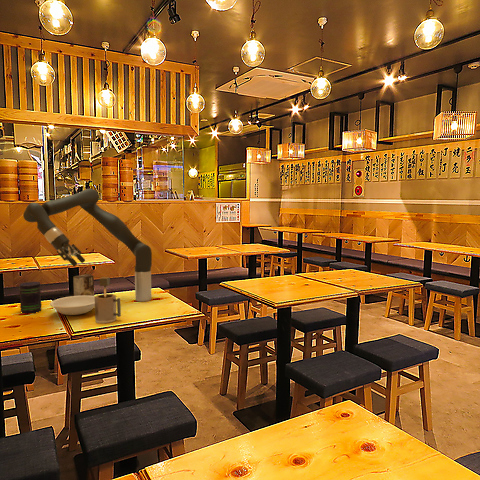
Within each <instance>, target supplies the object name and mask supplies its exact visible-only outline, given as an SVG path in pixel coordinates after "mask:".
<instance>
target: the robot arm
mask: <svg viewBox="0 0 480 480" xmlns="http://www.w3.org/2000/svg"><path fill="white" fill-rule="evenodd" d="M99 200H100V194H99V191H97V190H96V189H94V188H86V189H84V190H82V191H79V192H76V193H75V194H71V195H68V196H64V197H61V198H55V199H52V200H48V201H45V202H43V203H42V204H40V203H38V202H31V203H29V204H28V205H27V206H26V208H25V210H24V212H23V215H22V217H23V220H24V221H26V222H28V223H37V224H36V225H37V226H36V227H37V230H38V231H39V232H40V233H41V234H42V235H43V237H44V238H45V239H46V241H47V242H48V243H49V244H50V245H51V246H52V247H53V248H54V249H55V250H56V253H57V254H58V255H59V256H60V257H61V259H62V260H63V261H67V262H68V263H70V264H71V266H72V267H77V265H78V262H77V261H76V260H75V259H74V258H73V256H74V257H76V258H77V260H78V261H79V262H80V263H81V264H84V262H85V261H86V259H85V258H84V256H83V255H81V254H82V251H81V249H79V248H78V247H77V246H76V244H70V241H71V240H70V239H69V238H68V237H67V236H66V234H65V233H64V232H63V231H62V230H61V229H60V228H58V227H57V225H55V223H54V222H53V221H52V220H51V219H50V217H51V216H53V215H54V216H55V215H58V214H60V213H64V212H66V211H68V210H71V209H73V208H75V207H80V208H81V209H82V210H83V211H85V212H87V214H89V215H90V216H91V217H92V218H94V219H95V220H96V221H97V222H98V223H100V224H101V225H102V226H103V227H104V228H105V229H106V230H107V231H108V232H109V233H110V234H111V235H112V236H113V237H114V238H116V239H117V240H118V241H120V242H121V243H123V245H125V246H126V247H127V248H128V249H129V250H130V252H131V253H132V254H133V255H134V256H135V266H134V292H135V295H134V296H135V298H134V301H136V302H148V301H151V300H152V262H153V261H152V260H153V259H152V258H153V257H152V248H151V247H150V246H149V245H148V244H146V243H144V242H142V241H141V240H140V239H138V238H137V237H136V236H135V235H134V234H133V233H132V231H131V229H130V228H129V227H128V226H127V224H125V222H124V221H123V220H122V219H120V217H119V216H118V215H115V214H113V213H111V212H109V211H106V210H104V209H102V208H101V207H100V206H99V205H98V204H97V203H98V202H99Z"/></svg>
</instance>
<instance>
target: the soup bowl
mask: <svg viewBox="0 0 480 480" xmlns="http://www.w3.org/2000/svg"><path fill="white" fill-rule="evenodd" d="M96 296H97V295H94V296H88V295H81V296H74V295H70V296H65V297H60V298H57V299H54V300H52V301H50V302H49V306H50V307H53V308H54V309H55V310H56V311H57V313H60V314H62V315H66V316H75V315H76V316H77V315H82V314H86V313H88V312H90V311H92V310H93V309H95V297H96Z"/></svg>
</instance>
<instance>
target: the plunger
mask: <svg viewBox="0 0 480 480" xmlns="http://www.w3.org/2000/svg"><path fill="white" fill-rule="evenodd" d="M110 285H111V279H110V277H109V276H101V277H100V278H99V287H103V294H104V298H106V294H107V287H108V286H110Z"/></svg>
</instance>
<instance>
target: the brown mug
mask: <svg viewBox="0 0 480 480" xmlns="http://www.w3.org/2000/svg"><path fill="white" fill-rule="evenodd" d="M95 296H96V297H95V307H94V314H95V315H94V318H95V323H97V324H109V323H114V322H116V321H117V318H120V317H121V316H122V314H121V313H122V310H121V306H122V305H121V297H118V298H117V296H116V295H115V294H112V293H106V298H104V293H103V294H98V295H95Z"/></svg>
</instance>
